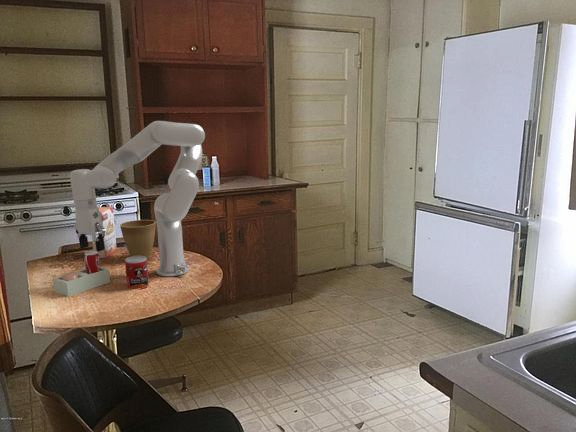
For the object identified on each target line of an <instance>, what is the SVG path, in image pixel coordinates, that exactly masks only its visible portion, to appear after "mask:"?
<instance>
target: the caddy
mask: <svg viewBox="0 0 576 432" xmlns="http://www.w3.org/2000/svg"><path fill="white" fill-rule="evenodd" d="M109 270H110V269H109V268H104V267H101V266H100V271H99V272H96V273H92V274H87V273H85V268H83V269H79V270H76V271H75V272H76V273H78V278H77V279H74V280H71V281H64V280H62V275H60V276H57V277H54V278H52V283H53V289H54V290H53V292H54V293H56V294H60V295H62V296H67V297H71V296H74V295H77V294H80V293H82V292H85V291H89V290H91V289H95V288H97V287H100V286H103V285H105V284H108V283H111V280H110V271H109Z"/></svg>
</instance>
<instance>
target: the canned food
mask: <svg viewBox="0 0 576 432" xmlns="http://www.w3.org/2000/svg"><path fill="white" fill-rule="evenodd" d="M147 260H148V259H147V258H146V257H145V256H141V255H137V256H128V257H126V258H125V259H124V265H125V276H126V285H127V286H126V287H127V288H128V289H132V290H134V289H135V290H138V291H142V290H145V289H147V288H148V286H149V282H150V281H149V272H148V261H147Z"/></svg>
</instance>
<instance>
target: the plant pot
mask: <svg viewBox="0 0 576 432" xmlns="http://www.w3.org/2000/svg"><path fill="white" fill-rule="evenodd" d="M119 226H120V231H121V234H122V238H123V240H124V244H125V246H126V248H127V249H126V250H127V251H128V253H129V255H130V256H129V257H131V256H137V255H141V256H145V257H146V258H147V260H149V259H150V258H151V255H152V251H153V247H154V243H155V236H156V227H157V223H156V220H152V219H138V220H130V221H125V222H122V223H120V224H119Z"/></svg>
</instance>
